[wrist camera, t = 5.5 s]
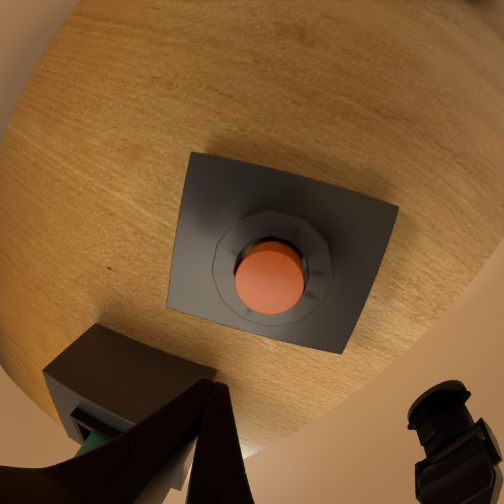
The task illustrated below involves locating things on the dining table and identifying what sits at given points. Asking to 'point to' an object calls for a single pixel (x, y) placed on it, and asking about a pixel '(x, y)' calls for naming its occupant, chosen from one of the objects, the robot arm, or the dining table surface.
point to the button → (270, 278)
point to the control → (280, 230)
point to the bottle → (91, 444)
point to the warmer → (116, 385)
